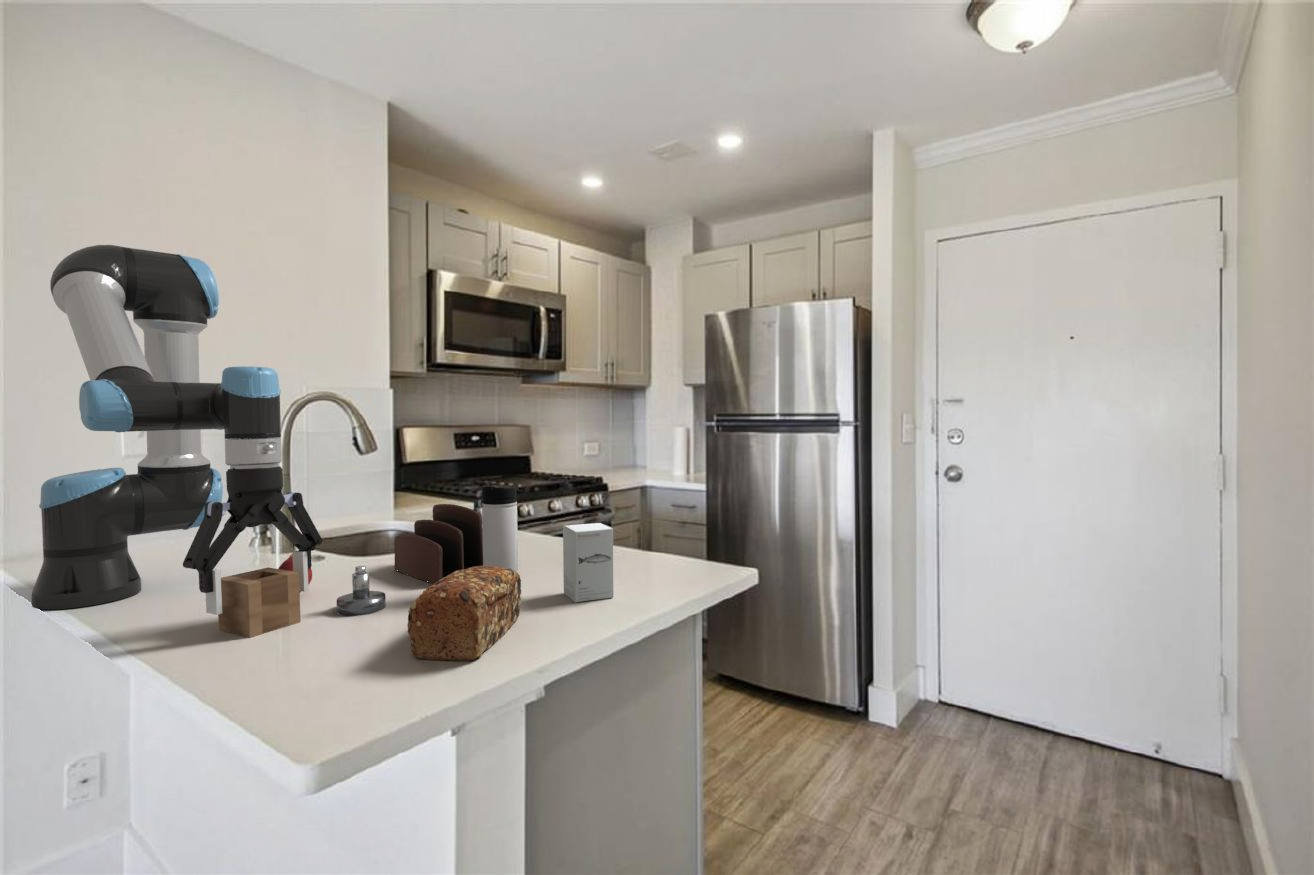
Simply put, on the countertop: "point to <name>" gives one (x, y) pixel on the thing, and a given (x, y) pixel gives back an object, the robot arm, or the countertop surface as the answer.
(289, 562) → the onion
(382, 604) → the hub
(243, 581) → the collar
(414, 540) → the letter holder
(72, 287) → the robot arm
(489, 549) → the travel mug
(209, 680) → the countertop surface
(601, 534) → the supplement box
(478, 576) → the bread
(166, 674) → the countertop surface
